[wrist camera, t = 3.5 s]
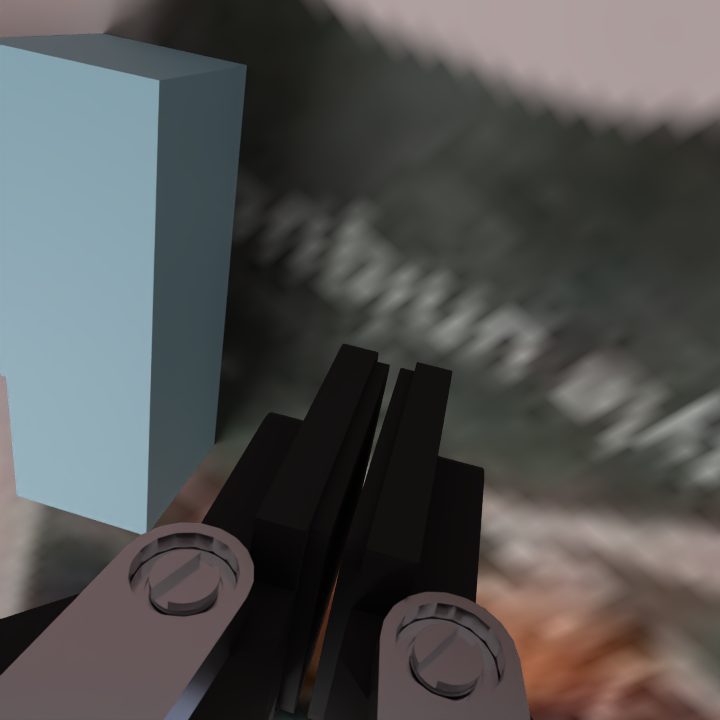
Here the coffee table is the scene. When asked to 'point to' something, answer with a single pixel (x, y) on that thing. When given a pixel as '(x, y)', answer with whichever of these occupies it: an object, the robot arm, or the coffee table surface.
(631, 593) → the coffee table surface
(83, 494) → the t block
